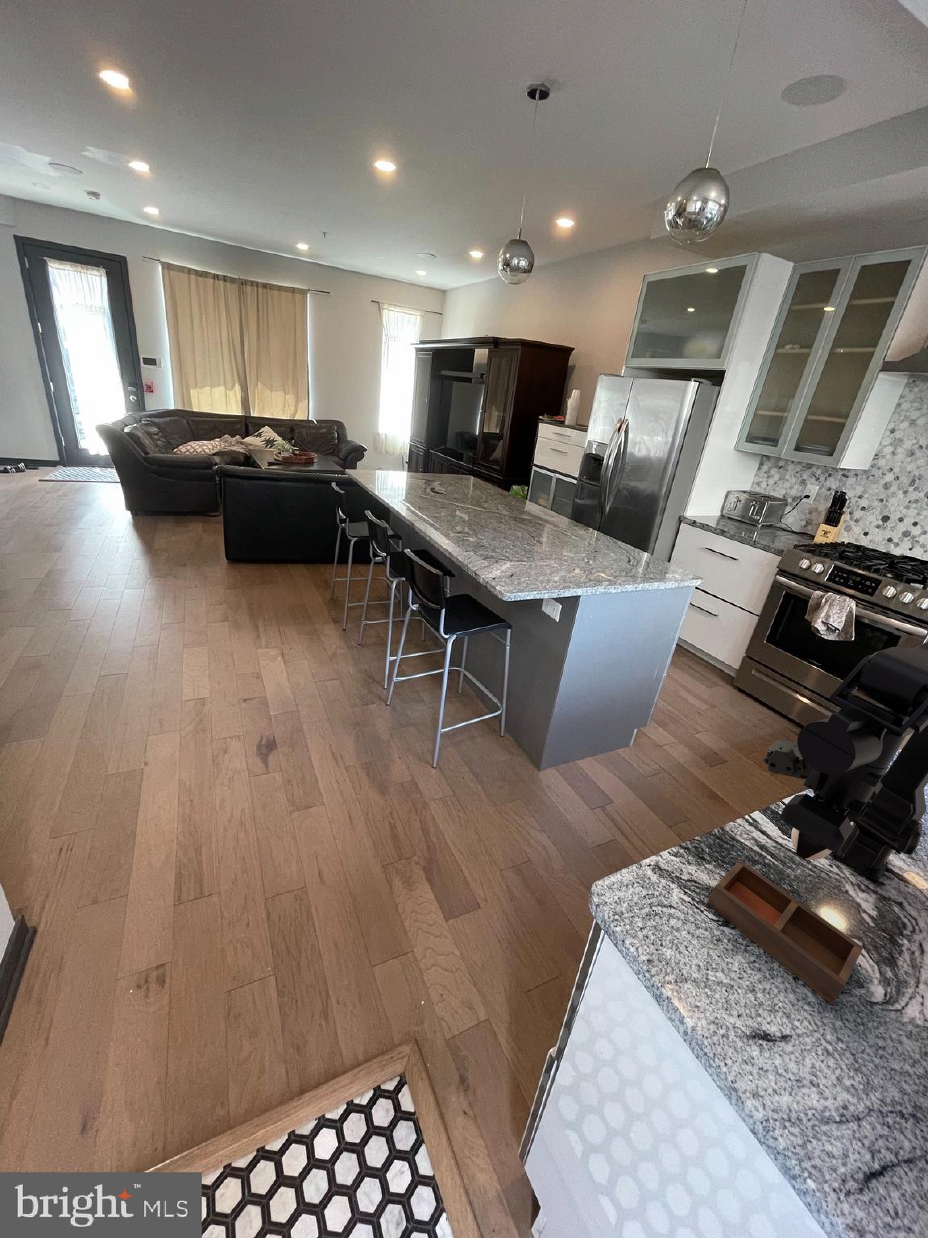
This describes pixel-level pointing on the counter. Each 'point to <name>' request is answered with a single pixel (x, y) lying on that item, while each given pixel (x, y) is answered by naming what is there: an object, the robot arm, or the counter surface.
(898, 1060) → the counter surface
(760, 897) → the egg rack
